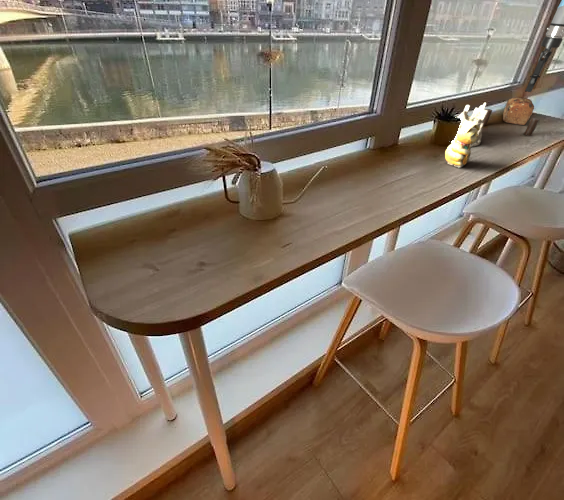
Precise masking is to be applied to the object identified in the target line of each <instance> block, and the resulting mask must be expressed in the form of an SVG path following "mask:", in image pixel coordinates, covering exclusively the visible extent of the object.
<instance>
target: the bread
mask: <svg viewBox="0 0 564 500" xmlns="http://www.w3.org/2000/svg"><path fill="white" fill-rule="evenodd" d="M534 110H535V105H534V103H533V100H532V99H530V98H527V97H522V96H515V97H512V98H509V99H508V100H507V102H506V103H505V107H504V110H503V111H502V112H503V113H502V120H503V122H504V123H507V124H515V125H519V126H525V125H526V124H528V123H527V122H528V121H529V119H530V118H531V117H532V114H533V112H534Z"/></svg>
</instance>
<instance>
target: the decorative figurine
mask: <svg viewBox="0 0 564 500" xmlns="http://www.w3.org/2000/svg"><path fill="white" fill-rule="evenodd" d="M476 123H477V121H474V122H472V123H470V124H469V125H468V126H467V127H463V128H461V129H460V130H459V131H458V133H457V139H456V140H455V142H453V143H452V142H451V143H450V144H449V145H448V146H447V148H446V149H445V152H444V157H445V161H446V162H447V165H450V166H453V167H456V168H458V169H460V168H463V167H464V166H465V165H467V163H468V161H469V160H470V158H471V153H472V151H471V148H472V147H471V145H470V144H472V143H473V142H475V141H476V140H477V139H478V134H477V133H478V130H480V125H477V124H476ZM475 124H476V125H475Z"/></svg>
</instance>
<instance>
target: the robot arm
mask: <svg viewBox="0 0 564 500" xmlns="http://www.w3.org/2000/svg"><path fill="white" fill-rule="evenodd" d="M563 38H564V0H561V1H560V3H559V5H558V6H557V9H556V11H555V14H554V15H553V18H552V20H551V22H550V24H549V27H547V28H546V33H545V37H543V39H542V41H541V44H540V46H541V47H543V48H544V50H542V51H541V53H540V56H539V58H538V60H537V64H536V66H535V68H534V70H533V73H532V74H531V75H530V76H529V77H530V79H529V82H528V84H527V85H526V88H525V90H524V92H527V93H532V92H533V89H534V87H535V85H536V84H537V81H538V79H539V78H541V76H540V75H541V73H542V71H543V69H544V67H545V65H546V63H547V62H548V60H549V58H550V57H551V56H552V53H553V51H552V49H553V48H554V49H559V48H560V46H561V44H562V42H563Z"/></svg>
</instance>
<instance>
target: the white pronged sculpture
mask: <svg viewBox="0 0 564 500" xmlns="http://www.w3.org/2000/svg"><path fill="white" fill-rule="evenodd" d="M486 106H487V102H484V103H483V104H481V105H480V106H479V107H475V108H474V110H473V112H472V114H471V115H469V114H468V113H469V111H470V107H471V105H470V104H466V105H465V107H464V109H463V111H462V112H460V114H458V115H457V116H456V117H458V118H460V120H461V123H460V125H459V128H458V131H459V130H460V129H461V128H463V127H467V126H468V125H469V124H470V123H472V122H474V121H477V123H476V124H477V125H480V130H478V133H477V134H478V139H477V140H476V141H475V142H473V143H472V144H470V145H471V148H472V147H476V146H479V145H481V142H482V137H483V127H484V126H483V123H484V119H485V116H486V113H487V111H488V110H485V109H486ZM476 124H475V125H476ZM458 131H457V133H458ZM456 139H457V134H456V136H455V138H454V140H452V141H451V142H450V143H451V144H452V143H453V142H455V140H456Z"/></svg>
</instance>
